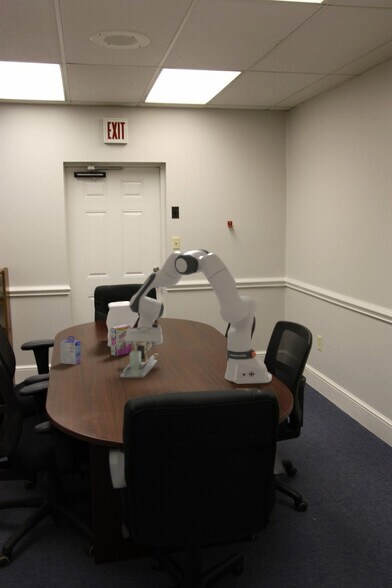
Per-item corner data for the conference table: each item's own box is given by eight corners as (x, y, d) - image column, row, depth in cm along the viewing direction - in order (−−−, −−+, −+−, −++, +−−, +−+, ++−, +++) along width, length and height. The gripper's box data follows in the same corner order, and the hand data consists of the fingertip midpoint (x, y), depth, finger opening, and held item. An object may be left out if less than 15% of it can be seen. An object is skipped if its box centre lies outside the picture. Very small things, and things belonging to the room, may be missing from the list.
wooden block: (147, 359, 261) (147, 341, 260) (145, 362, 256) (144, 344, 254) (139, 359, 262) (138, 341, 260) (136, 362, 256) (136, 344, 255)
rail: (156, 361, 266) (156, 342, 265) (144, 377, 239) (143, 355, 237) (135, 361, 268) (134, 341, 267) (120, 377, 241) (119, 355, 239)
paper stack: (104, 349, 296) (102, 307, 292) (107, 338, 322) (105, 300, 318) (139, 347, 298) (138, 305, 294) (139, 337, 324) (138, 298, 321)
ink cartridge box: (82, 362, 268) (80, 336, 266) (76, 365, 263) (74, 338, 261) (66, 360, 272) (65, 335, 270) (60, 363, 267) (59, 337, 265)
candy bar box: (116, 356, 278) (114, 328, 276) (111, 355, 281) (109, 327, 279) (132, 352, 286) (130, 325, 283) (126, 351, 289) (125, 324, 287)
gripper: (125, 324, 265) (121, 347, 257) (162, 325, 262) (159, 347, 254) (128, 331, 270) (123, 353, 262) (164, 331, 267) (161, 353, 259)
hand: (141, 350), depth 258 cm, fingers closed on wooden block, 4 cm apart
